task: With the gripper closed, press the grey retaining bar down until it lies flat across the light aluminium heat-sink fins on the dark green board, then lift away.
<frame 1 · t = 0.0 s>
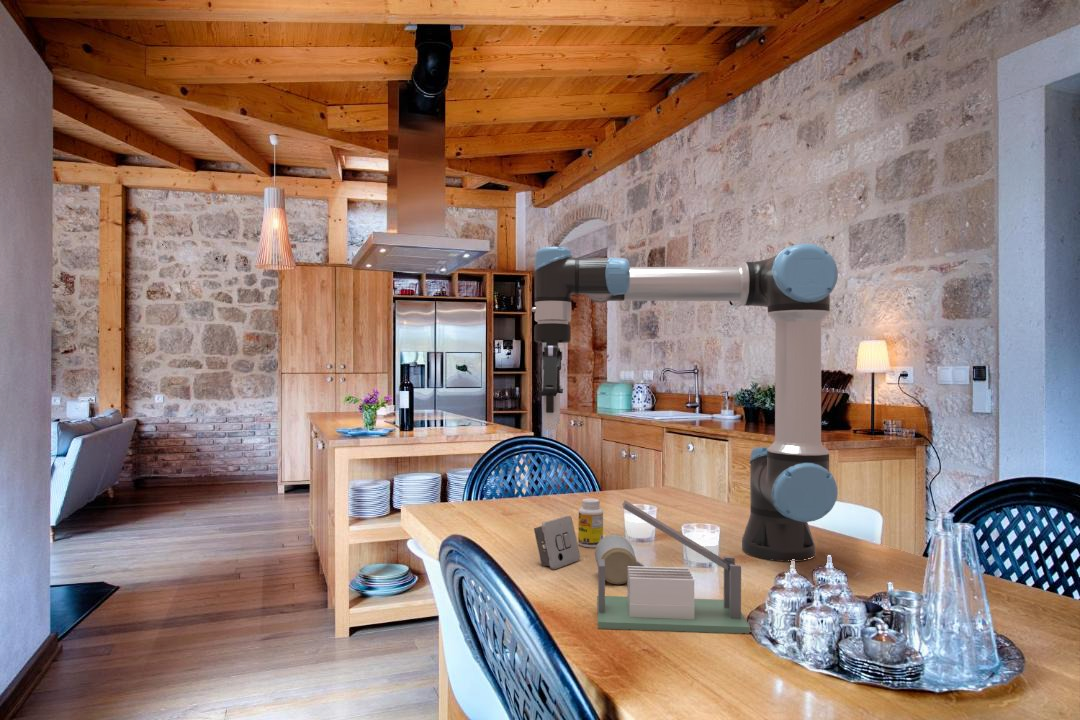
hand: (551, 426, 138), 28 cm above the table, tool pointing down, fingers open, 13 cm apart
grey retaining bar: (679, 537, 109), point 13 cm above the table, hinge at 30.0°
supplement bottle: (590, 546, 152), on the table
ceramic mug: (622, 580, 128), on the table
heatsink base: (669, 616, 109), on the table
electrical switch: (556, 564, 138), on the table
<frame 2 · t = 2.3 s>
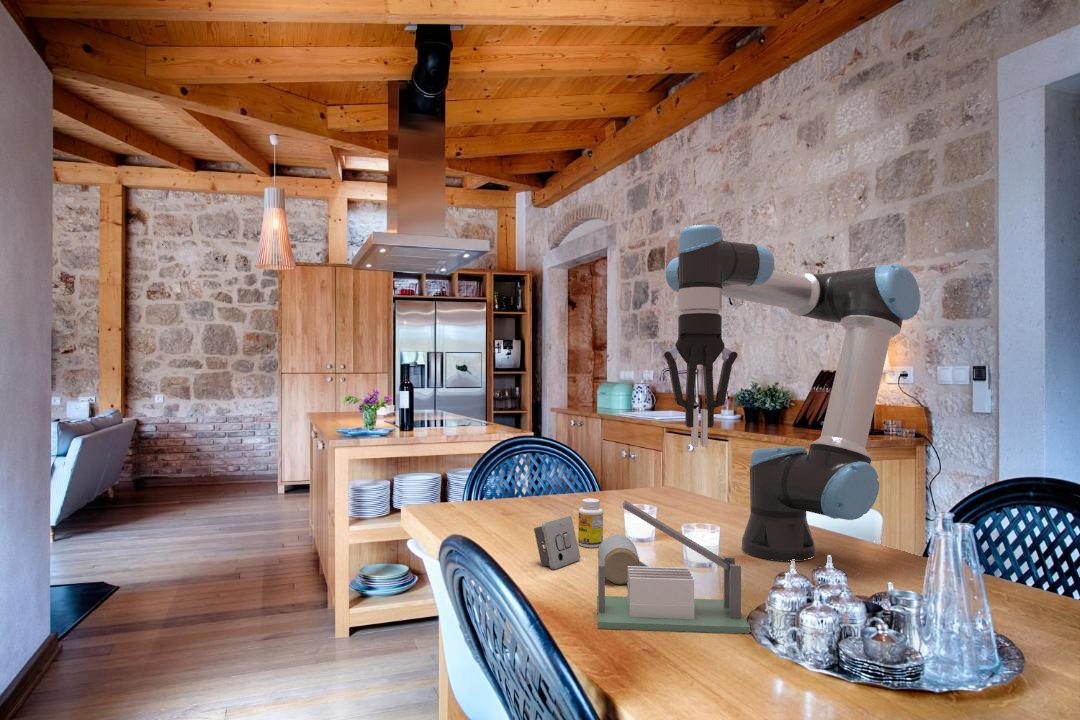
hand: (699, 445, 119), 26 cm above the table, tool pointing down, fingers closed
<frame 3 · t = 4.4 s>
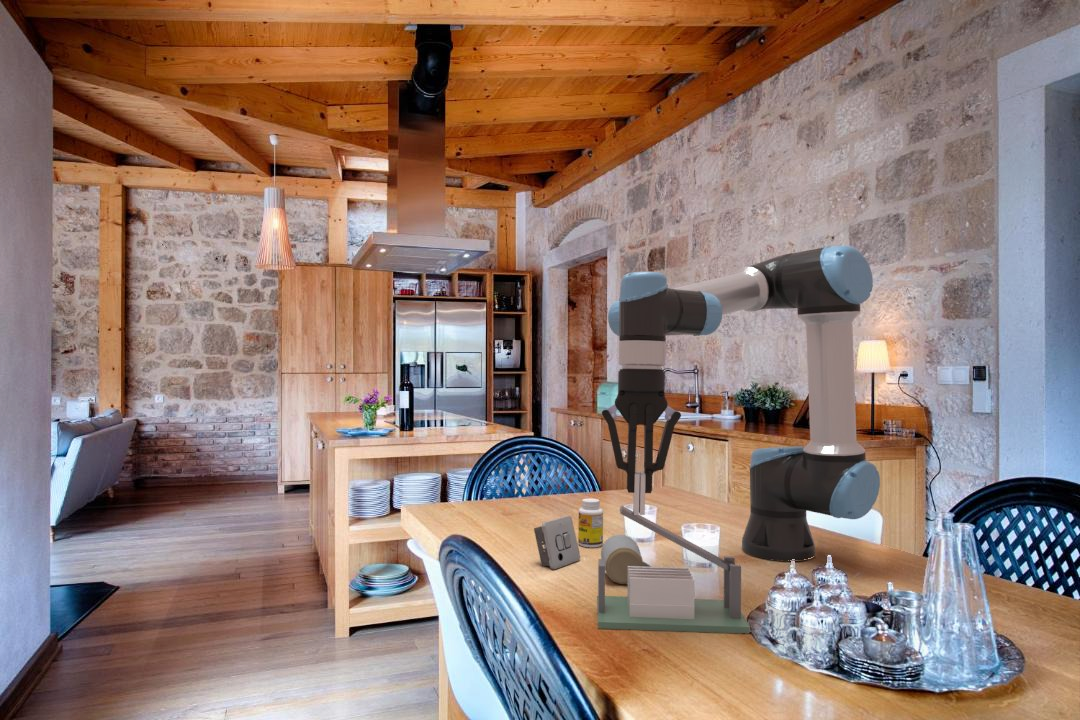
hand: (638, 512, 109), 17 cm above the table, tool pointing down, fingers closed
grey retaining bar: (678, 540, 109), point 12 cm above the table, hinge at 27.0°, touching gripper
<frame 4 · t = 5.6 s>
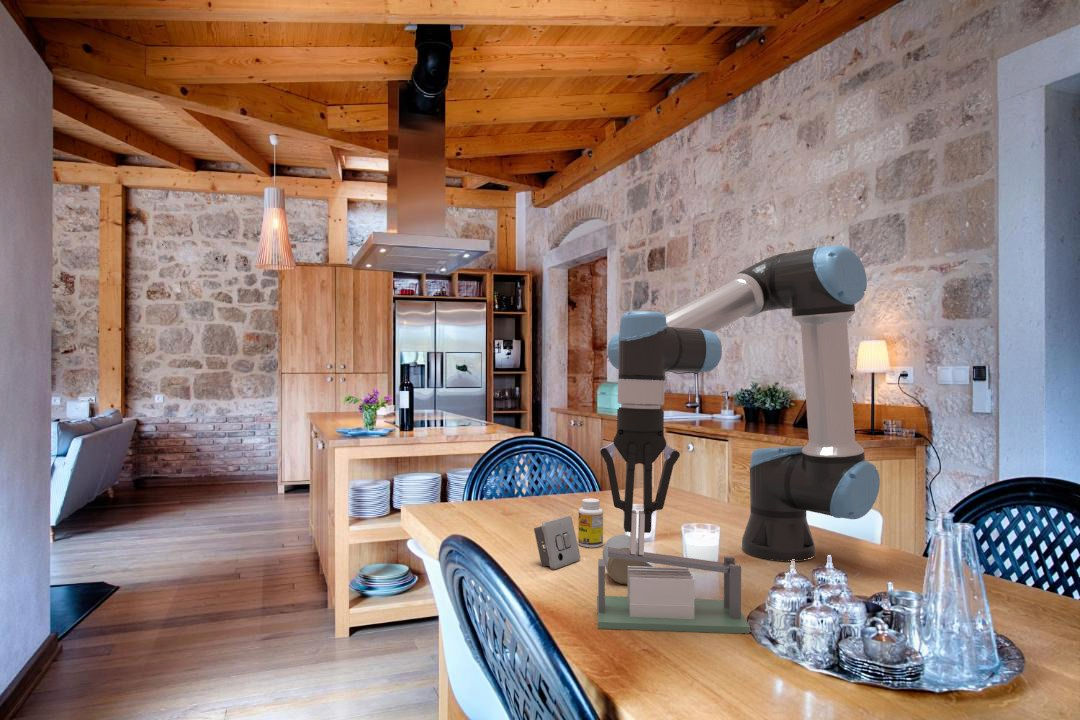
hand: (636, 552, 109), 10 cm above the table, tool pointing down, fingers closed, pressing on grey retaining bar
grey retaining bar: (672, 560, 109), point 9 cm above the table, hinge at 6.2°, touching gripper
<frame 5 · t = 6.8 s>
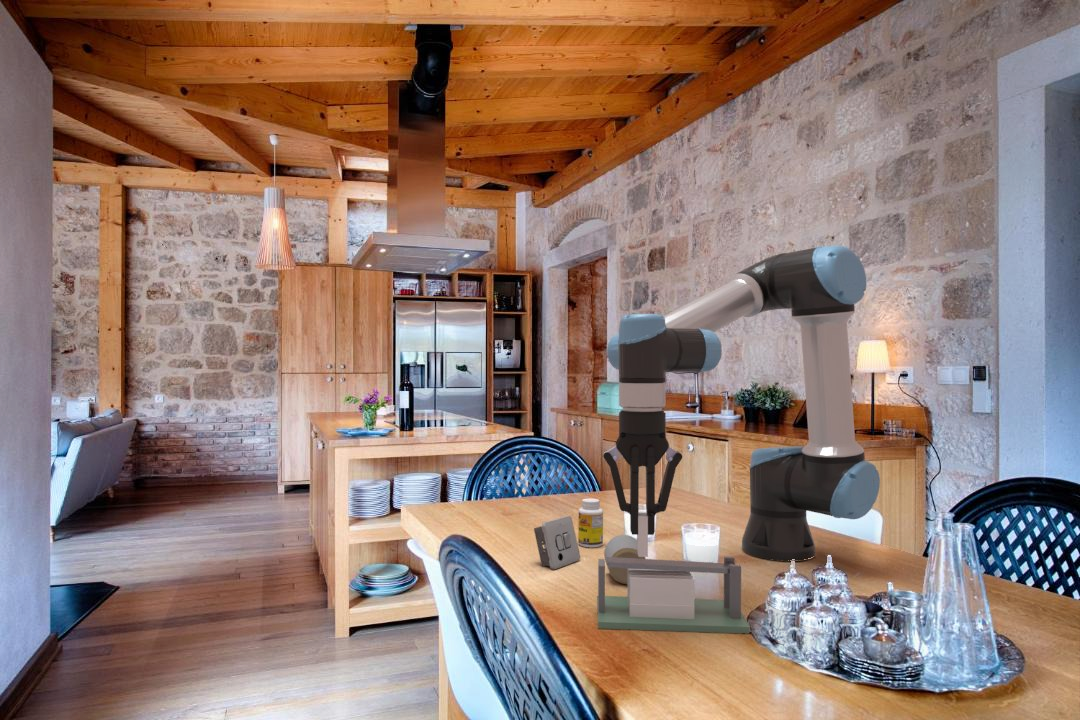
hand: (642, 554, 109), 10 cm above the table, tool pointing down, fingers closed
grey retaining bar: (671, 565, 109), point 8 cm above the table, hinge at 1.5°
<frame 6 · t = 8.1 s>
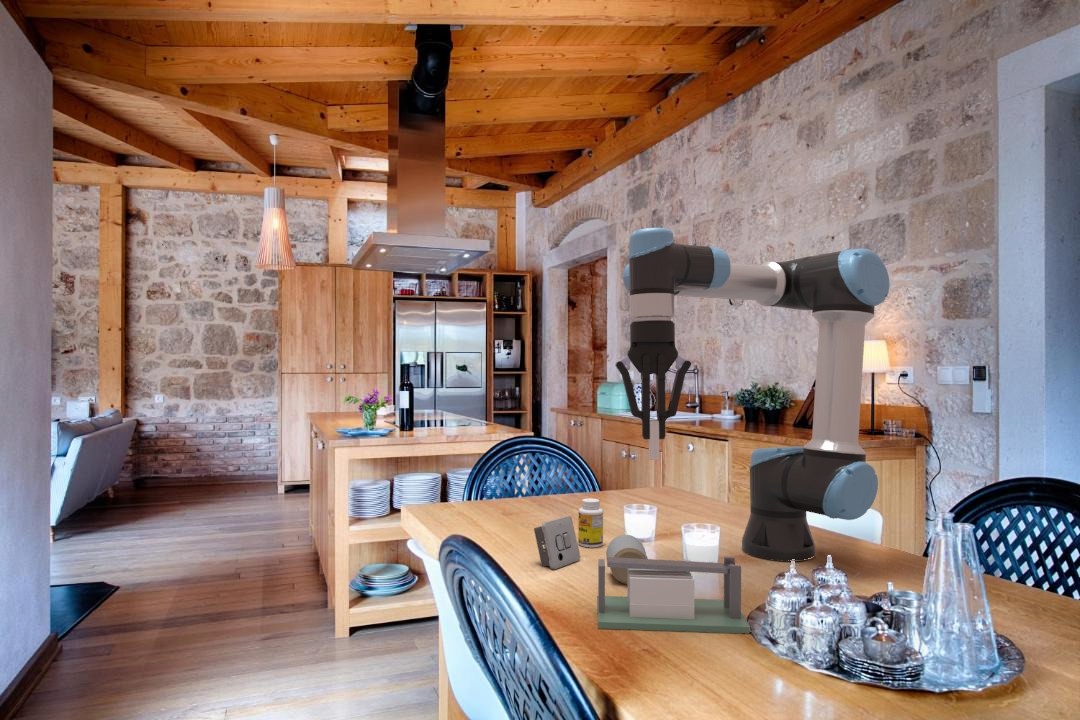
hand: (654, 458, 115), 25 cm above the table, tool pointing down, fingers closed
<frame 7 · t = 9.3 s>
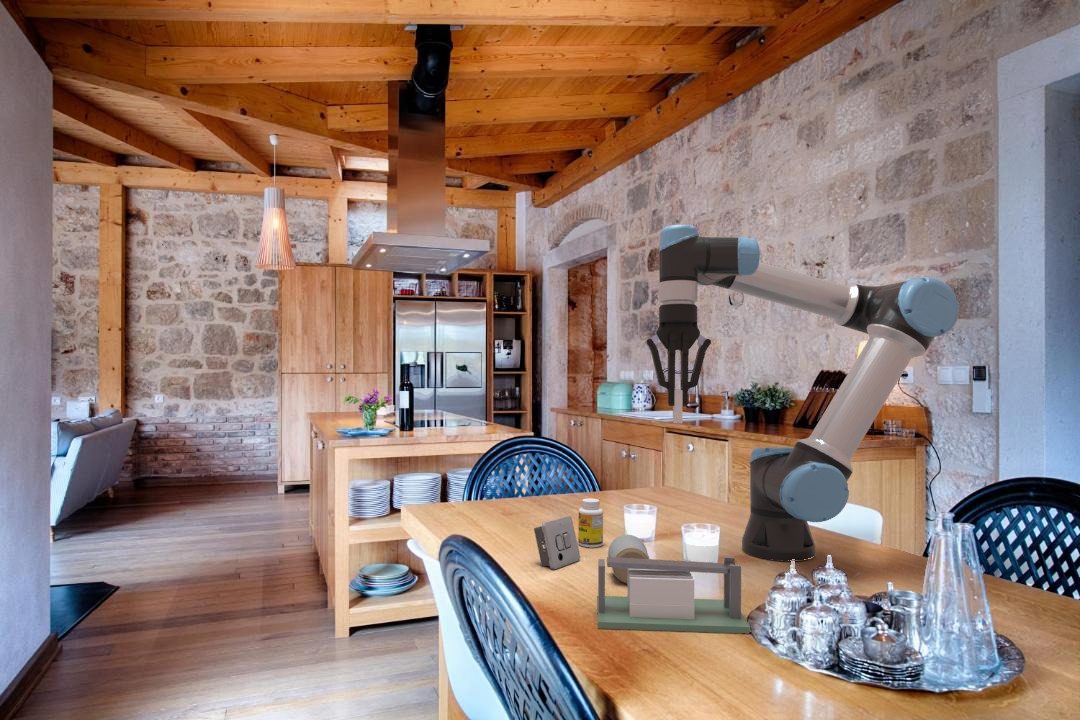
hand: (677, 422, 134), 29 cm above the table, tool pointing down, fingers closed
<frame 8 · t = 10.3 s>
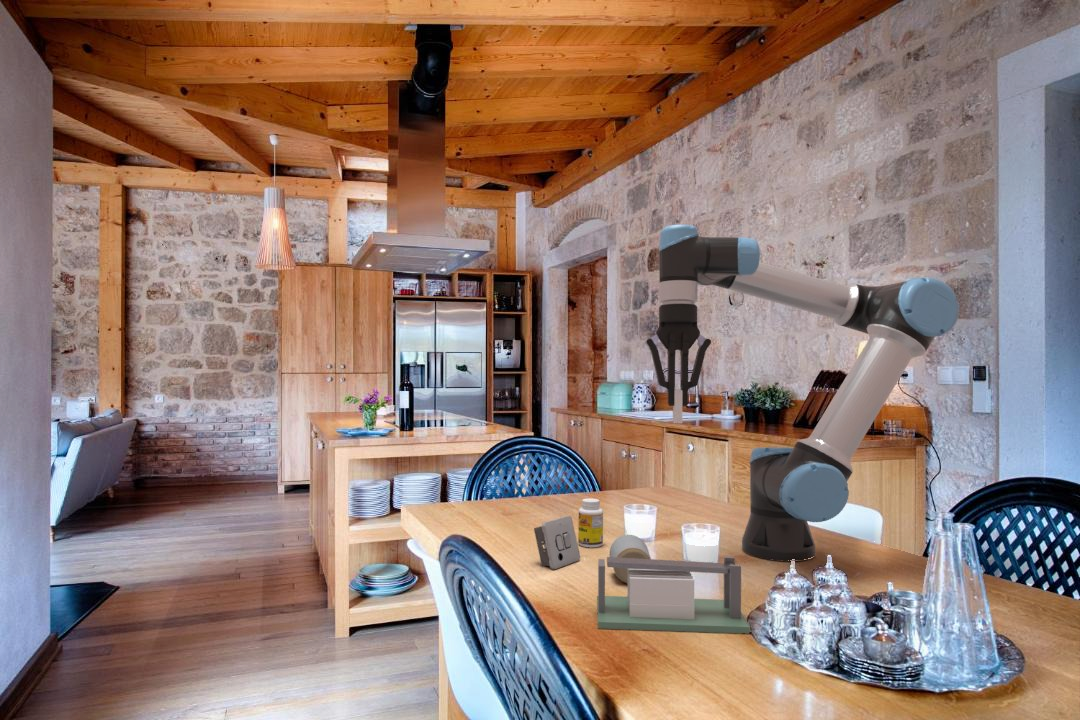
hand: (677, 422, 134), 29 cm above the table, tool pointing down, fingers closed
at the end: grey retaining bar at +2° (first picture: +30°); the gripper is holding nothing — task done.
